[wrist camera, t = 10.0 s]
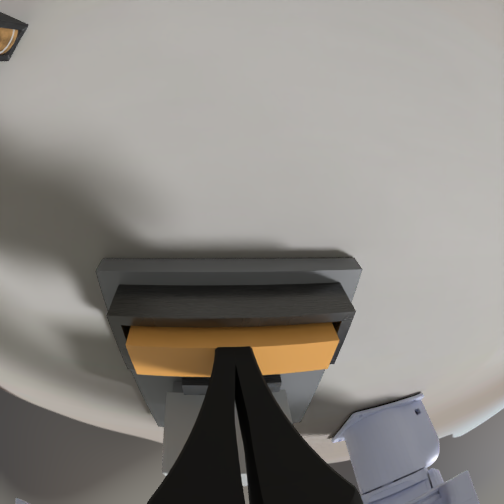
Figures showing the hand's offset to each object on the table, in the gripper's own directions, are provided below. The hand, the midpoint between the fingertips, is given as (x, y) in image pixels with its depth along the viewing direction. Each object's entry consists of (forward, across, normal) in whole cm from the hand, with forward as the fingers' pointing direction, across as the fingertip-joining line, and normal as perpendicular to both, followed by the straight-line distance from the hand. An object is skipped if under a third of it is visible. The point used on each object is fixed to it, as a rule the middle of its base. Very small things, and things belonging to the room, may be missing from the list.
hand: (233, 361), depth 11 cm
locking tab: (+2, 0, 0) cm, 2 cm away
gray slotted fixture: (+3, 0, +5) cm, 6 cm away
